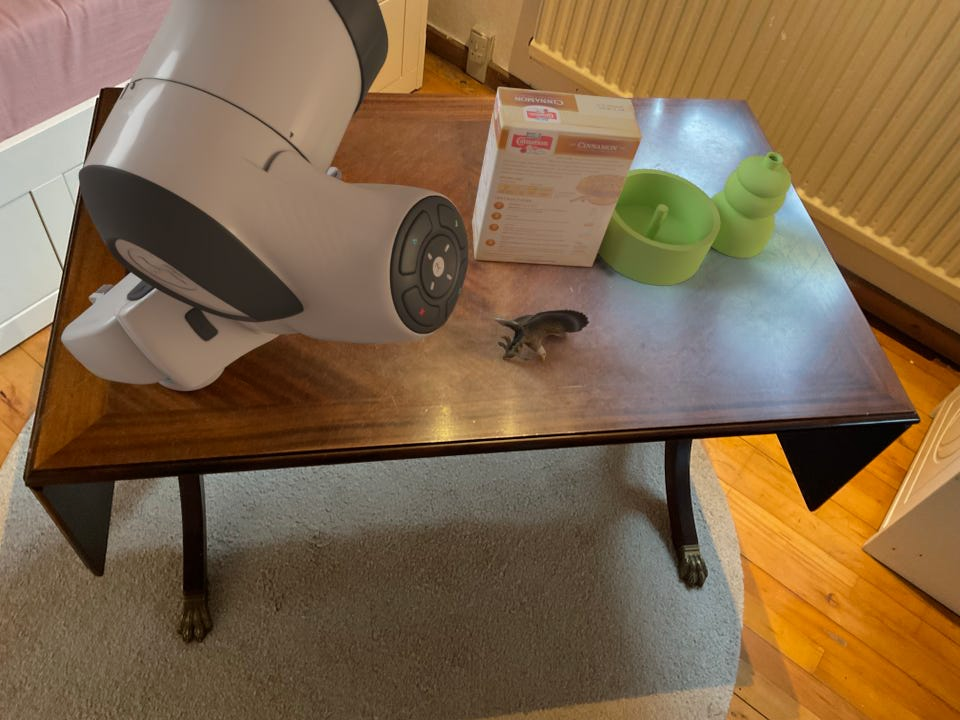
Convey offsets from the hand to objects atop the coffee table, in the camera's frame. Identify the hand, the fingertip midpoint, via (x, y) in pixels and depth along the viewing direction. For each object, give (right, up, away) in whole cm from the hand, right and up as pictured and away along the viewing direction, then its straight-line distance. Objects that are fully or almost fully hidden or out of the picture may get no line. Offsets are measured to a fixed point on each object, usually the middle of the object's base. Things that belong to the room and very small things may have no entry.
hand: (150, 258), depth 56 cm
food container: (+51, +8, +42) cm, 67 cm away
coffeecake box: (+31, +7, +37) cm, 49 cm away
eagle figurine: (+31, -6, +27) cm, 41 cm away
